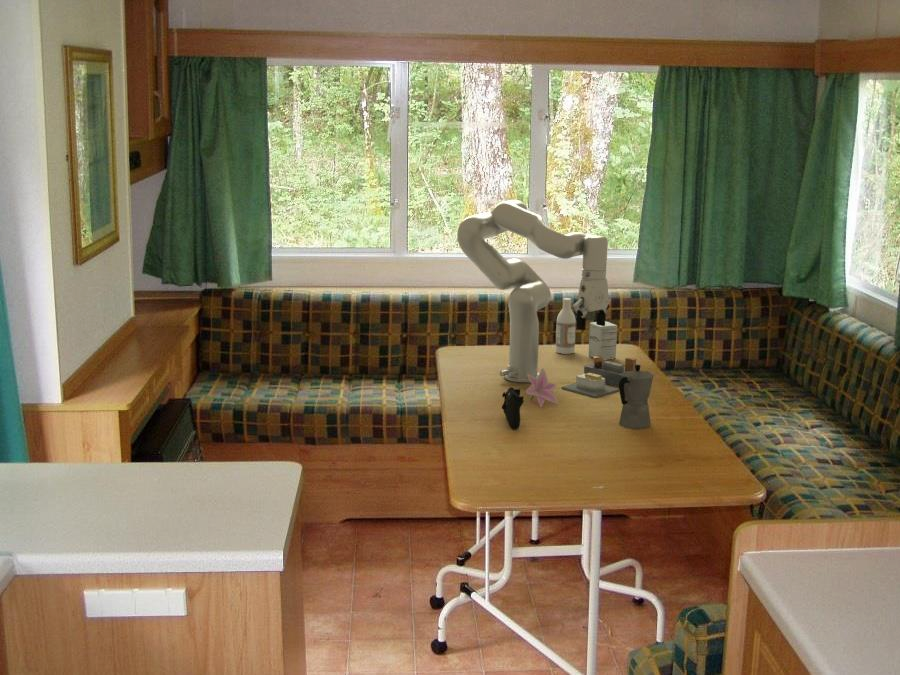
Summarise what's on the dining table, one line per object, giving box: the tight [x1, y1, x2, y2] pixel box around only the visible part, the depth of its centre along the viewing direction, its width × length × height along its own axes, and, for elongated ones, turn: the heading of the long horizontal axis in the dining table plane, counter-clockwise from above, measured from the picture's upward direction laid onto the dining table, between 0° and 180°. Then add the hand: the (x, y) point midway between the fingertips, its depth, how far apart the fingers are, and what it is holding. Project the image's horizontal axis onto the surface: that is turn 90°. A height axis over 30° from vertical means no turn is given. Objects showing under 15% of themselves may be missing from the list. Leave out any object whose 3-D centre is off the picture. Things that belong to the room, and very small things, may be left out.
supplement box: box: [588, 320, 618, 361], centre depth 401 cm, size 7×7×13 cm
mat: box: [561, 382, 620, 399], centre depth 362 cm, size 12×14×1 cm
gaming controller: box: [501, 387, 525, 430], centre depth 325 cm, size 14×6×10 cm, turn 4°
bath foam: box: [555, 297, 577, 355], centre depth 408 cm, size 7×7×20 cm
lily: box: [525, 367, 559, 408], centre depth 346 cm, size 12×12×10 cm
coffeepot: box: [618, 364, 654, 430], centre depth 324 cm, size 15×9×18 cm, turn 138°
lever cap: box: [575, 373, 606, 392], centre depth 361 cm, size 5×8×5 cm, turn 44°
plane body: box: [583, 356, 637, 388], centre depth 371 cm, size 8×18×9 cm, turn 44°
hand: (590, 327), depth 358 cm, fingers open, 9 cm apart
